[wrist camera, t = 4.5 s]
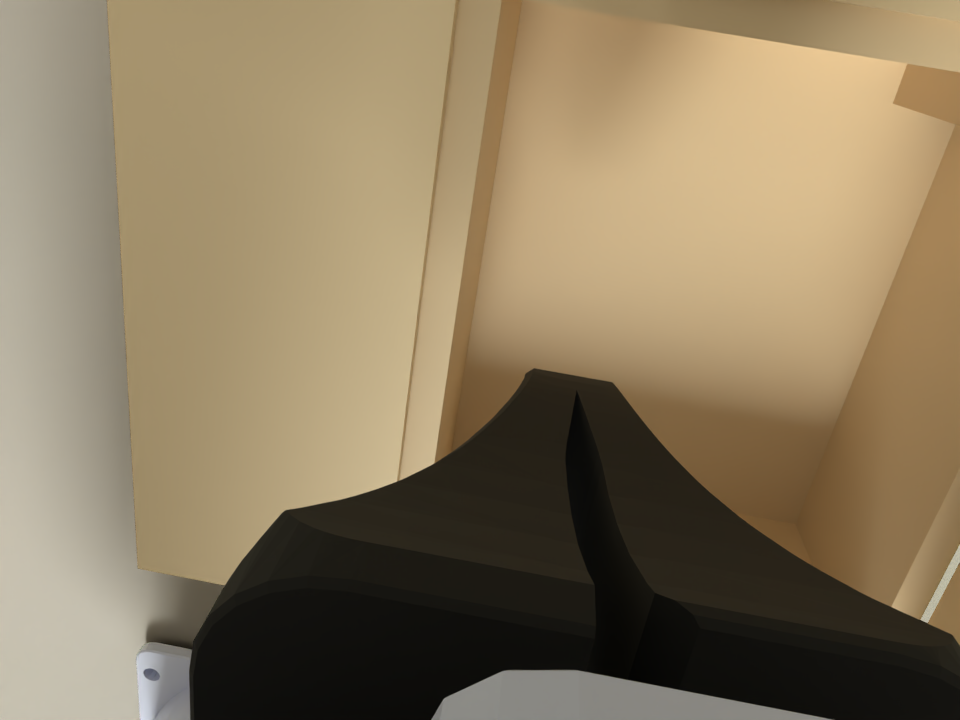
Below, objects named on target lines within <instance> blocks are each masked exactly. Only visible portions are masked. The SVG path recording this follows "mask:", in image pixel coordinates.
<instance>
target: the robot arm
mask: <svg viewBox="0 0 960 720" xmlns="http://www.w3.org/2000/svg"><path fill="white" fill-rule="evenodd" d="M136 665H137V681H138V698H139V715H140V720H960V645H959V644H958V642H957V641H956V639H955V638H954V636H953V635H952V634H950V633H947V632H945V631H943V630H941V629H939V628H936V627H934V626H932V625H930V624H928V623H925V622H923V621H921V620H919V619H917V618H914V617H912V616H910V615H908V614H906V613H903V612H901V611H899V610H897V609H895V608H892V607H890V606H888V605H886V604H884V603H881V602H879V601H877V600H875V599H873V598H871V597H869V596H867V595H865V594H863V593H861V592H859V591H857V590H855V589H853V588H852V587H850V586H848V585H846V584H844V583H842V582H840V581H839V580H837V579H835V578H833V577H831V576H829V575H828V574H826V573H824V572H822V571H820V570H819V569H817V568H815V567H814V566H812V565H810V564H809V563H807V562H805V561H804V560H802V559H800V558H799V557H797V556H795V555H794V554H792V553H791V552H789V551H788V550H786V549H785V548H783V547H782V546H780V545H779V544H777V543H776V542H774V541H773V540H771V539H770V538H768V537H767V536H765V535H764V534H762V533H761V532H759V531H758V530H757V529H755V528H754V527H753V526H751V525H750V524H749V523H747V522H746V521H744V520H743V519H742V518H740V517H739V516H738V515H737V514H735V513H734V512H733V511H732V510H731V509H729V508H728V507H727V506H726V505H725V504H723V503H722V502H721V501H720V500H719V499H717V498H716V497H715V496H714V495H713V494H711V493H710V492H709V491H708V490H707V489H706V488H705V487H704V486H702V485H701V484H700V483H699V482H698V481H697V480H696V479H695V478H694V477H693V476H692V475H691V474H690V473H689V472H688V471H687V470H686V469H685V468H684V467H683V466H682V465H681V464H680V463H679V462H678V461H677V460H676V459H675V458H674V457H673V456H672V454H671V453H670V452H669V451H668V450H667V449H666V448H665V447H664V446H663V444H662V443H661V442H660V441H659V440H658V439H657V438H656V436H655V435H654V434H653V433H652V432H651V430H650V429H649V428H648V427H647V426H646V424H645V423H644V422H643V421H642V419H641V418H640V417H639V415H638V414H637V413H636V412H635V410H634V409H633V408H632V406H631V405H630V404H629V403H628V401H627V400H626V399H625V397H624V396H623V395H622V393H621V392H620V391H619V389H618V388H617V387H616V386H615V385H614V383H613V382H609V381H603V380H597V379H592V378H586V377H581V376H575V375H569V374H564V373H558V372H553V371H547V370H541V369H536V368H533V369H532V370H530V371H529V372H527V373H525V377H524V379H523V381H522V383H521V384H520V386H519V387H518V389H517V390H516V392H515V393H514V394H513V395H512V397H511V398H510V399H509V400H508V402H507V403H506V404H505V405H504V406H503V407H502V408H501V409H500V410H499V411H498V413H497V414H496V415H495V416H494V417H493V418H492V419H491V420H490V421H489V422H488V423H487V424H485V425H484V426H483V427H482V428H481V429H480V430H479V431H478V432H476V433H475V434H474V435H473V436H472V437H471V438H470V439H468V440H467V441H466V442H465V443H463V444H462V445H461V446H459V447H458V448H457V449H455V450H454V451H453V452H451V453H450V454H448V455H447V456H445V457H444V458H442V459H440V460H439V461H437V462H436V463H434V464H432V465H431V466H429V467H427V468H425V469H423V470H421V471H419V472H416V473H414V474H412V475H410V476H408V477H406V478H404V479H402V480H400V481H397V482H395V483H392V484H389V485H387V486H384V487H381V488H378V489H375V490H372V491H369V492H366V493H363V494H359V495H356V496H352V497H349V498H345V499H341V500H336V501H331V502H326V503H321V504H316V505H311V506H306V507H301V508H296V509H289V510H285V511H284V512H282V513H281V514H280V516H279V517H278V518H277V519H276V520H275V521H274V523H273V524H272V525H271V526H270V527H269V528H268V530H267V531H266V532H265V533H264V534H263V535H262V537H261V538H260V539H259V540H258V541H257V543H256V544H255V545H254V546H253V548H252V549H251V550H250V551H249V552H248V554H247V555H246V556H245V557H244V558H243V560H242V561H241V562H240V564H239V565H238V566H237V568H236V569H235V571H234V572H233V574H232V575H231V577H230V578H229V580H228V581H227V583H226V585H225V587H224V588H223V590H222V592H221V594H220V595H219V597H218V599H217V601H216V602H215V604H214V606H213V608H212V610H211V611H210V613H209V615H208V617H207V618H206V620H205V622H204V624H203V625H202V627H201V629H200V631H199V632H198V634H197V636H196V638H195V639H194V641H193V648H192V649H187V648H182V647H177V646H172V645H167V644H162V643H157V642H149V643H146V644H144V645H143V646H142V648H141V649H140V651H139V652H138V654H137V657H136Z"/></svg>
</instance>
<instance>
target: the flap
mask: <svg viewBox="0 0 960 720" xmlns="http://www.w3.org/2000/svg"><path fill="white" fill-rule="evenodd" d="M928 624H930V625H932V626H934V627H936V628H939V629H941V630H943V631H945V632H947V633H950V634H952V635H953V636H954V638H955V639H956V641H957V642H958V644H959V645H960V563H959V565H958V567H957V569H956V571H955V573H954V575H953V576H952V578H951V580H950V582H949V584H948V586H947V588H946V590H945V592H944V594H943V595H942V597H941V599H940V601H939V603H938V605H937V607H936V609H935V611H934V612H933V614H932V616H931V618H930V620H929V622H928Z"/></svg>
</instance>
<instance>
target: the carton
mask: <svg viewBox="0 0 960 720" xmlns="http://www.w3.org/2000/svg"><path fill="white" fill-rule="evenodd" d="M107 12H108V30H109V49H110V67H111V85H112V104H113V122H114V141H115V159H116V177H117V196H118V214H119V233H120V251H121V269H122V288H123V306H124V325H125V343H126V361H127V380H128V398H129V416H130V435H131V453H132V472H133V490H134V508H135V527H136V545H137V564H138V569H143V570H148V571H153V572H158V573H163V574H169V575H174V576H179V577H184V578H189V579H194V580H199V581H204V582H210V583H215V584H220V585H226V583H227V581H228V580H229V578H230V577H231V575H232V574H233V572H234V571H235V569H236V568H237V566H238V565H239V564H240V562H241V561H242V560H243V558H244V557H245V556H246V555H247V554H248V552H249V551H250V550H251V549H252V548H253V546H254V545H255V544H256V543H257V541H258V540H259V539H260V538H261V537H262V535H263V534H264V533H265V532H266V531H267V530H268V528H269V527H270V526H271V525H272V524H273V523H274V521H275V520H276V519H277V518H278V517H279V516H280V514H281V513H282V512H284V511H285V510H289V509H296V508H301V507H306V506H311V505H316V504H321V503H326V502H331V501H336V500H341V499H345V498H349V497H352V496H356V495H359V494H363V493H366V492H369V491H372V490H375V489H378V488H381V487H384V486H387V485H389V484H392V483H395V482H397V481H400V480H402V479H404V478H406V477H408V476H410V475H412V474H414V473H416V472H419V471H421V470H423V469H425V468H427V467H429V466H431V465H432V464H434V463H436V462H437V461H439V460H440V459H442V458H444V457H445V456H447V455H448V454H450V453H451V452H453V451H454V450H455V449H457V448H458V447H459V446H461V445H462V444H463V443H465V442H466V441H467V440H468V439H470V438H471V437H472V436H473V435H474V434H475V433H476V432H478V431H479V430H480V429H481V428H482V427H483V426H484V425H485V424H487V423H488V422H489V421H490V420H491V419H492V418H493V417H494V416H495V415H496V414H497V413H498V411H499V410H500V409H501V408H502V407H503V406H504V405H505V404H506V403H507V402H508V400H509V399H510V398H511V397H512V395H513V394H514V393H515V392H516V390H517V389H518V387H519V386H520V384H521V383H522V381H523V379H524V377H525V373H527V372H529V371H530V370H532V369H533V368H536V369H541V370H547V371H553V372H558V373H564V374H569V375H575V376H581V377H586V378H592V379H597V380H603V381H609V382H613V383H614V385H615V386H616V387H617V388H618V389H619V391H620V392H621V393H622V395H623V396H624V397H625V399H626V400H627V401H628V403H629V404H630V405H631V406H632V408H633V409H634V410H635V412H636V413H637V414H638V415H639V417H640V418H641V419H642V421H643V422H644V423H645V424H646V426H647V427H648V428H649V429H650V430H651V432H652V433H653V434H654V435H655V436H656V438H657V439H658V440H659V441H660V442H661V443H662V444H663V446H664V447H665V448H666V449H667V450H668V451H669V452H670V453H671V454H672V456H673V457H674V458H675V459H676V460H677V461H678V462H679V463H680V464H681V465H682V466H683V467H684V468H685V469H686V470H687V471H688V472H689V473H690V474H691V475H692V476H693V477H694V478H695V479H696V480H697V481H698V482H699V483H700V484H701V485H702V486H704V487H705V488H706V489H707V490H708V491H709V492H710V493H711V494H713V495H714V496H715V497H716V498H717V499H719V500H720V501H721V502H722V503H723V504H725V505H726V506H727V507H728V508H729V509H731V510H732V511H733V512H734V513H735V514H737V515H738V516H739V517H740V518H742V519H743V520H744V521H746V522H747V523H749V524H750V525H751V526H753V527H754V528H755V529H757V530H758V531H759V532H761V533H762V534H764V535H765V536H767V537H768V538H770V539H771V540H773V541H774V542H776V543H777V544H779V545H780V546H782V547H783V548H785V549H786V550H788V551H789V552H791V553H792V554H794V555H795V556H797V557H799V558H800V559H802V560H804V561H805V562H807V563H809V564H810V565H812V566H814V567H815V568H817V569H819V570H820V571H822V572H824V573H826V574H828V575H829V576H831V577H833V578H835V579H837V580H839V581H840V582H842V583H844V584H846V585H848V586H850V587H852V588H853V589H855V590H857V591H859V592H861V593H863V594H865V595H867V596H869V597H871V598H873V599H875V600H877V601H879V602H881V603H884V604H886V605H888V606H890V607H892V608H895V609H897V610H899V611H901V612H903V613H906V614H908V615H910V616H912V617H914V618H917V619H919V620H920V619H921V617H922V615H923V613H924V612H925V610H926V608H927V606H928V604H929V602H930V600H931V598H932V596H933V594H934V592H935V590H936V589H937V587H938V585H939V583H940V581H941V579H942V577H943V575H944V573H945V571H946V569H947V567H948V565H949V564H950V562H951V560H952V558H953V556H954V554H955V552H956V550H957V548H958V546H959V544H960V0H107Z"/></svg>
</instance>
